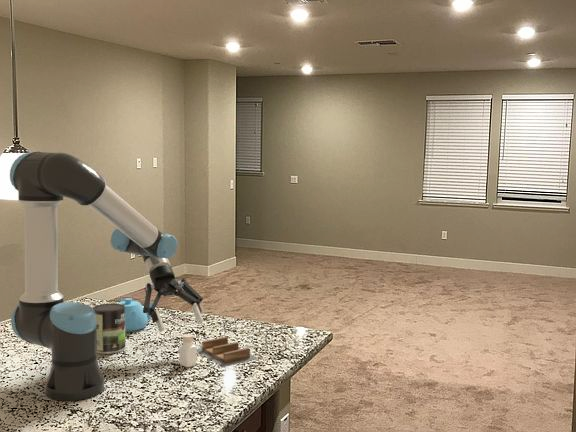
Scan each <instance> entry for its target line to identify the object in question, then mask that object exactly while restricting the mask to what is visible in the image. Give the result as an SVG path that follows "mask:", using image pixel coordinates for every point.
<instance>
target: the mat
mask: <svg viewBox="0 0 576 432" xmlns="http://www.w3.org/2000/svg"><path fill="white" fill-rule="evenodd" d="M228 344H229V342H228ZM239 349H241V348H240V347H239ZM196 351H197V353H198V354H200V355H202V356H203V357H206V358H207V359H209V360H210V361H212V362H214V363H216V364H217V365H219V366H221V367H223V368H225V367H230V366H233V365H234V366H235V365H238V364H241V363H242V364H243V363H248V362H251V361H255V360H259V357H257V356H255V355H253V354H251V353H250V358H247V359H242V360H238V361H234V362H230V363H226V364H225V363H224V362H222V361H220V360H218V359H217V358H215V357H213V356H211V355H209V354H208V353H206V352H204V351H202V347H200V348H196Z"/></svg>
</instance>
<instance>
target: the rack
mask: <svg viewBox="0 0 576 432" xmlns="http://www.w3.org/2000/svg"><path fill="white" fill-rule="evenodd" d="M228 343H229V338H228V336H223V337H217V338H212V339H209V340H203V341H202V342H201V348H202V351H204V352H206V353H208V354H209V355H211V356H213V357H215V358H217V359H218V360H220V361H222V362H224V363H225V364H226V363H230V362H234V361H238V360H242V359H247V358H250V354H251V348H250V347H244V348H240V347H239V344H240V343H239V342H238V341H235V342H230V343H229V344H228ZM239 348H240V349H239Z"/></svg>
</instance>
